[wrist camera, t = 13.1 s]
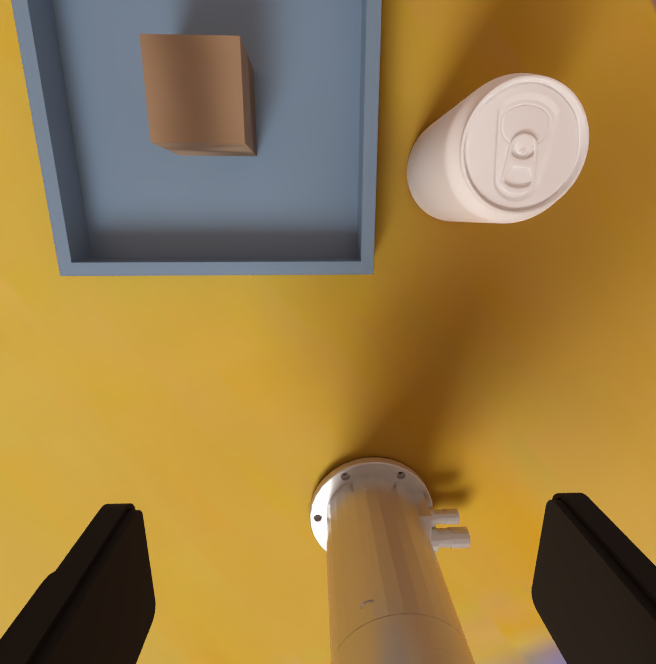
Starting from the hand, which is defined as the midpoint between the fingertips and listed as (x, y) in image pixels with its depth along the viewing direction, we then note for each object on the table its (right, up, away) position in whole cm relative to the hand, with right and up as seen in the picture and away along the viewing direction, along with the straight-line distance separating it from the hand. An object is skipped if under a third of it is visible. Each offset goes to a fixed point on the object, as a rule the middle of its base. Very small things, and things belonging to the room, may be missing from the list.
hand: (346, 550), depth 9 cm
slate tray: (-9, +22, +23) cm, 33 cm away
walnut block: (-9, +22, +22) cm, 32 cm away
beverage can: (+10, +18, +25) cm, 32 cm away
